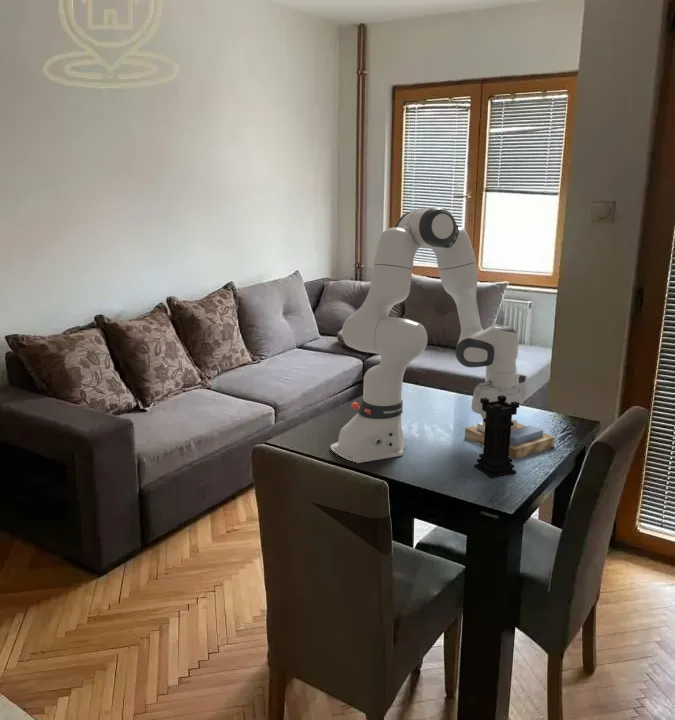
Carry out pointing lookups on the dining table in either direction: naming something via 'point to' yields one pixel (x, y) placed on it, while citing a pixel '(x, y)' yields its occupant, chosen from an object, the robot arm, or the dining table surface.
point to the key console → (515, 450)
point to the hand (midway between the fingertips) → (497, 421)
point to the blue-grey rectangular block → (525, 434)
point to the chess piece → (497, 438)
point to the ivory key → (482, 427)
